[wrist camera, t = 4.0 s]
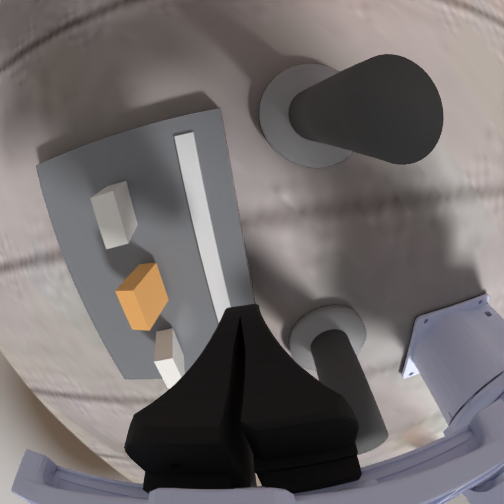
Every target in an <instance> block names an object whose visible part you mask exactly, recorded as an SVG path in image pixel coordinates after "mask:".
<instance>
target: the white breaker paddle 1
mask: <svg viewBox="0 0 504 504" xmlns="http://www.w3.org/2000/svg"><path fill="white" fill-rule="evenodd" d="M90 199H91V202H92V206H93V209H94V213H95V216H96V219H97V223H98V226H99V229H100V232H101V235H102V238H103V241H104V244H105V247H106V249H110V248H113V247H117V246H121V245H125V244H129V241H130V239H131V237H132V235H133V233H134V231H135V229H136V227H137V226H138V223H137V220H136V216H135V212H134V209H133V205H132V201H131V197H130V194H129V190H128V186H127V182H126V181H124V182H120V183H117V184H113V185H110V186H107V187H105V188H104V189H102V190H101V191H100V192H98V193H97V194H95V195H94V196H92V197H91V198H90Z"/></svg>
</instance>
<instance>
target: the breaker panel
mask: <svg viewBox="0 0 504 504" xmlns="http://www.w3.org/2000/svg"><path fill="white" fill-rule="evenodd" d="M36 168H37V173H38V177H39V181H40V185H41V189H42V193H43V196H44V200H45V203H46V207H47V210H48V213H49V217H50V220H51V223H52V226H53V229H54V232H55V235H56V238H57V241H58V243H59V246H60V249H61V252H62V254H63V257H64V259H65V262H66V265H67V267H68V270H69V272H70V274H71V277H72V279H73V282H74V284H75V286H76V288H77V291H78V293H79V295H80V297H81V300H82V302H83V304H84V306H85V308H86V310H87V312H88V314H89V316H90V318H91V320H92V322H93V324H94V326H95V328H96V330H97V332H98V334H99V336H100V338H101V339H102V341H103V343H104V345H105V347H106V349H107V350H108V352H109V354H110V356H111V357H112V359H113V361H114V362H115V364H116V366H117V367H118V369H119V371H120V372H121V374H122V376H123V377H124V379H163V378H162V376H161V374H160V372H159V371H158V369H157V367H156V365H155V363H154V353H155V341H156V332H157V331H162V330H167V329H171V328H173V330H174V332H175V335H176V337H177V340H178V342H179V345H180V347H181V350H182V352H183V354H184V368H185V373H186V372H187V371H188V370H189V369H190V367H191V366H192V365H193V364H194V362H195V361H196V360H197V358H198V357H199V356H200V354H201V353H202V351H203V350H204V348H205V347H206V345H207V344H208V342H209V340H210V339H211V337H212V335H213V333H214V332H215V330H216V328H217V326H218V324H219V322H220V320H221V318H222V316H223V313H224V311H225V309H226V308H228V307H236V306H243V305H250V304H256V303H255V298H254V292H253V287H252V281H251V276H250V270H249V265H248V259H247V254H246V248H245V242H244V237H243V231H242V226H241V220H240V214H239V209H238V203H237V197H236V192H235V186H234V180H233V175H232V169H231V163H230V158H229V152H228V146H227V140H226V135H225V129H224V123H223V117H222V112H221V109H220V108H217V109H212V110H207V111H202V112H197V113H193V114H188V115H184V116H179V117H175V118H171V119H167V120H163V121H159V122H155V123H152V124H148V125H145V126H141V127H138V128H134V129H131V130H128V131H124V132H121V133H118V134H115V135H112V136H109V137H106V138H103V139H100V140H97V141H95V142H92V143H89V144H86V145H84V146H81V147H79V148H76V149H73V150H71V151H68V152H66V153H63V154H61V155H59V156H56V157H54V158H52V159H49V160H47V161H45V162H43V163H40V164H38V165H36ZM124 181H126V182H127V186H128V190H129V194H130V197H131V201H132V205H133V209H134V212H135V216H136V220H137V223H138V226H137V227H136V229H135V231H134V233H133V235H132V237H131V239H130V241H129V244H125V245H121V246H117V247H113V248H110V249H106V247H105V244H104V241H103V238H102V235H101V232H100V229H99V226H98V223H97V219H96V216H95V213H94V209H93V206H92V202H91V199H90V198H91V197H92V196H94V195H95V194H97V193H98V192H100V191H101V190H102V189H104V188H105V187H107V186H110V185H113V184H117V183H120V182H124ZM146 263H157V266H158V269H159V272H160V275H161V278H162V281H163V284H164V287H165V290H166V293H167V296H168V299H169V300H168V302H167V303H166V305H165V307H164V308H163V310H162V311H161V313H160V315H159V316H158V318H157V320H156V321H155V323H154V324H153V326H152V328H151V329H150V331H149V330H132V328H131V326H130V324H129V322H128V319H127V317H126V315H125V313H124V311H123V308H122V306H121V304H120V301H119V299H118V297H117V294H116V292H115V291H116V289H117V288H118V287H119V286H120V285H121V284H122V283H123V282H124V280H125V279H126V278H127V277H128V276H129V275H130V274H131V273H132V272H133V271H134V270H135V268H136V267H137V266H138V265H139V264H146Z"/></svg>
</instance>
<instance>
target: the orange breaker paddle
mask: <svg viewBox="0 0 504 504" xmlns="http://www.w3.org/2000/svg"><path fill="white" fill-rule="evenodd" d="M115 292H116V294H117V297H118V299H119V301H120V304H121V306H122V308H123V311H124V313H125V315H126V317H127V319H128V322H129V324H130V326H131V328H132V330H149V331H150V329H151V328H152V326H153V324H154V323H155V321H156V320H157V318H158V316H159V315H160V313H161V311H162V310H163V308H164V307H165V305H166V303H167V302H168V300H169V299H168V296H167V293H166V290H165V287H164V284H163V281H162V278H161V275H160V272H159V269H158V266H157V263H146V264H139V265H138V266H137V267H136V268H135V270H134V271H133V272H132V273H131V274H130V275H129V276H128V277H127V278H126V279H125V280H124V282H123V283H122V284H121V285H120V286H119V287H118V288H117V289H116V291H115Z"/></svg>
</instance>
